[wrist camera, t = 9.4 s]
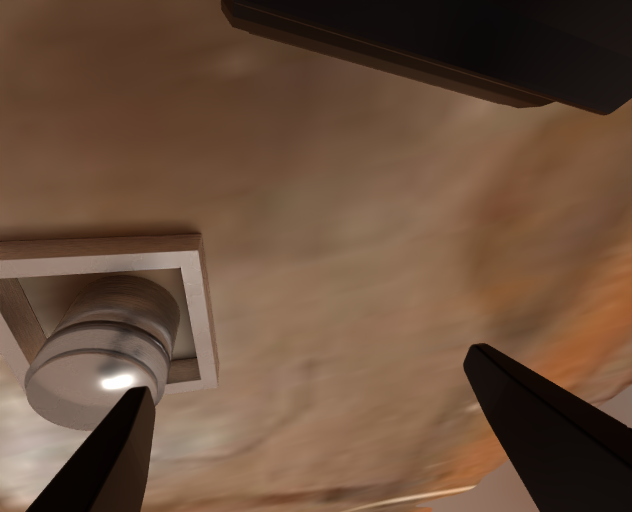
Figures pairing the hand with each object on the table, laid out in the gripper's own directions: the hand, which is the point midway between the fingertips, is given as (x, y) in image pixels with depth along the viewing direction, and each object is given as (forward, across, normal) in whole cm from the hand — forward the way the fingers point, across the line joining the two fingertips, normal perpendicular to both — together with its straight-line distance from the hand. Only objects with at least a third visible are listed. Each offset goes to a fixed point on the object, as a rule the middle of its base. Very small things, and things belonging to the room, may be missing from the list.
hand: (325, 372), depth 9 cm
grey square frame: (+12, +10, +7) cm, 17 cm away
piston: (+12, +9, +7) cm, 17 cm away
